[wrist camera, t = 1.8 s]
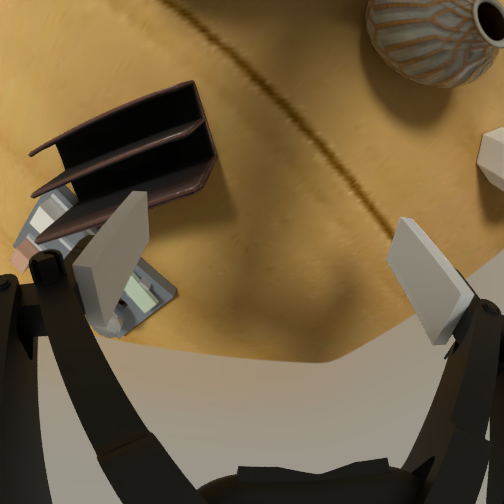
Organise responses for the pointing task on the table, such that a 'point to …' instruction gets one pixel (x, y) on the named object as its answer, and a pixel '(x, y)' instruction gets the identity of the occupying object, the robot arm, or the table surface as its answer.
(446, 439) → the robot arm
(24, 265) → the slider terracotta
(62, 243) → the panel
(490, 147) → the jar
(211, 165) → the letter holder
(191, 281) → the table surface
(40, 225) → the slider ivory
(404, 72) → the vase
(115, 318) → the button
